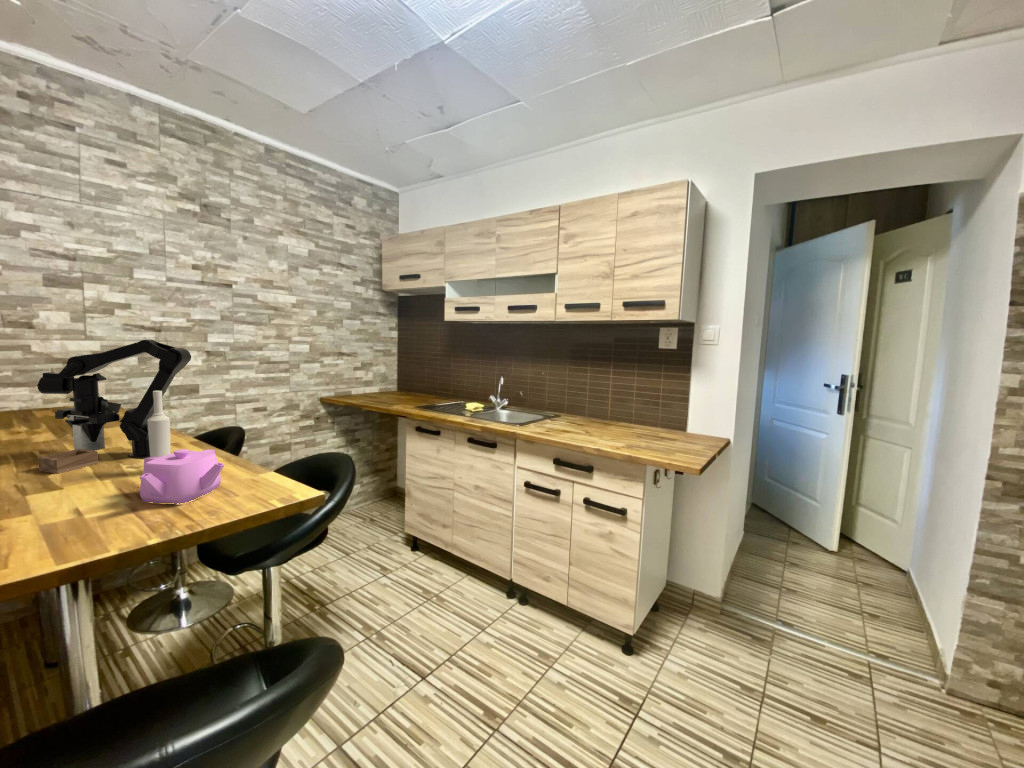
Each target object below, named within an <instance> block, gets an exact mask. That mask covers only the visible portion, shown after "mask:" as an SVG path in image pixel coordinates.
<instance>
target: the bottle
mask: <svg viewBox="0 0 1024 768" xmlns="http://www.w3.org/2000/svg"><path fill="white" fill-rule="evenodd" d="M153 399H154V413H153V416H151V417H150V418H149V419H148V420H147V423H148V436H149V448H150V457H162V456H165V455H169V454H172V453H171V449H172V447H171V418H170V417H169V416H167V415H166V414H165V413H164V410H163V397H162V391H153Z"/></svg>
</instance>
